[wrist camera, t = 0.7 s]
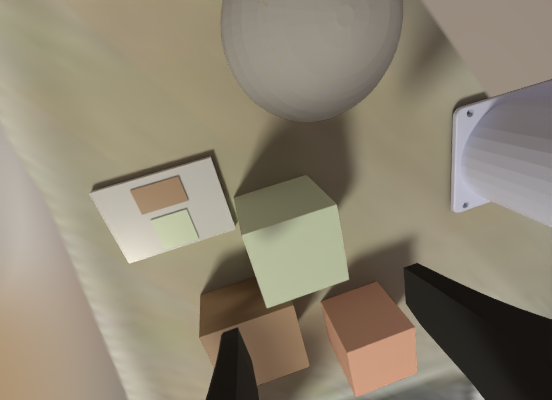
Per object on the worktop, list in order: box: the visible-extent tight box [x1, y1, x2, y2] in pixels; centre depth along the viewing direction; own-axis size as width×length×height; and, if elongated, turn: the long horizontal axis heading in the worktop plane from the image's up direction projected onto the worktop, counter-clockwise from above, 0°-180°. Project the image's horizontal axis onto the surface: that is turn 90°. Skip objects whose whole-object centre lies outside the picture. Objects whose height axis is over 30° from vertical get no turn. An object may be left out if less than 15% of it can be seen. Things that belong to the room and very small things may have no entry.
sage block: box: [234, 175, 349, 308], centre depth 18 cm, size 5×5×5 cm
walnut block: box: [199, 277, 310, 386], centre depth 21 cm, size 6×6×4 cm
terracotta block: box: [321, 282, 417, 397], centre depth 23 cm, size 5×5×5 cm
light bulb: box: [221, 0, 403, 122], centre depth 11 cm, size 6×6×10 cm
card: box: [89, 156, 236, 263], centre depth 18 cm, size 7×5×1 cm
